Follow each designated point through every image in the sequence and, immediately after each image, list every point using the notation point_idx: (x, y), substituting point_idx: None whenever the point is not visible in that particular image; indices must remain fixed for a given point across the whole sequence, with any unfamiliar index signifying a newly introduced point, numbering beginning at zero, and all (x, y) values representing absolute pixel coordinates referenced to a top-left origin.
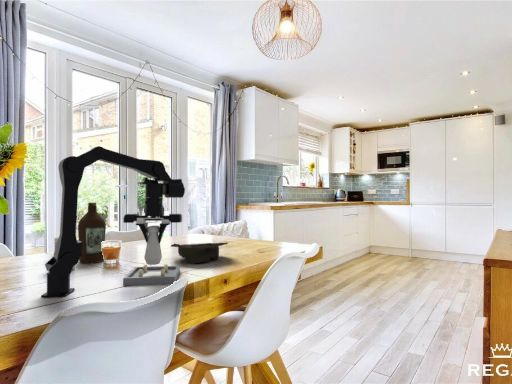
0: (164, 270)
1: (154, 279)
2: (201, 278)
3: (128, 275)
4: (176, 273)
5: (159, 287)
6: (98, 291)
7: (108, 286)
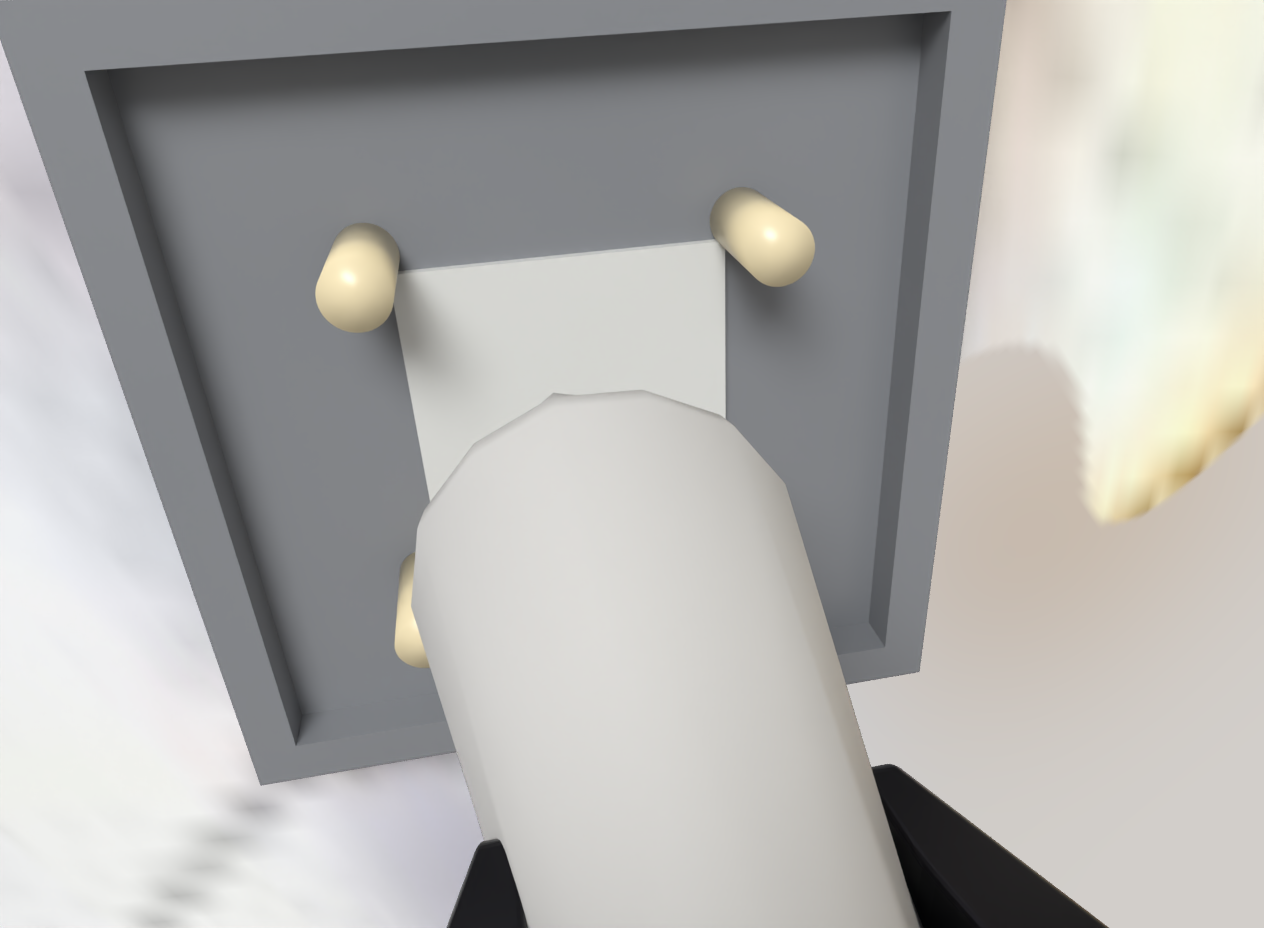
0: None
1: None
2: (1204, 397)
3: (261, 666)
4: (937, 510)
5: None
6: (120, 908)
7: (109, 766)
